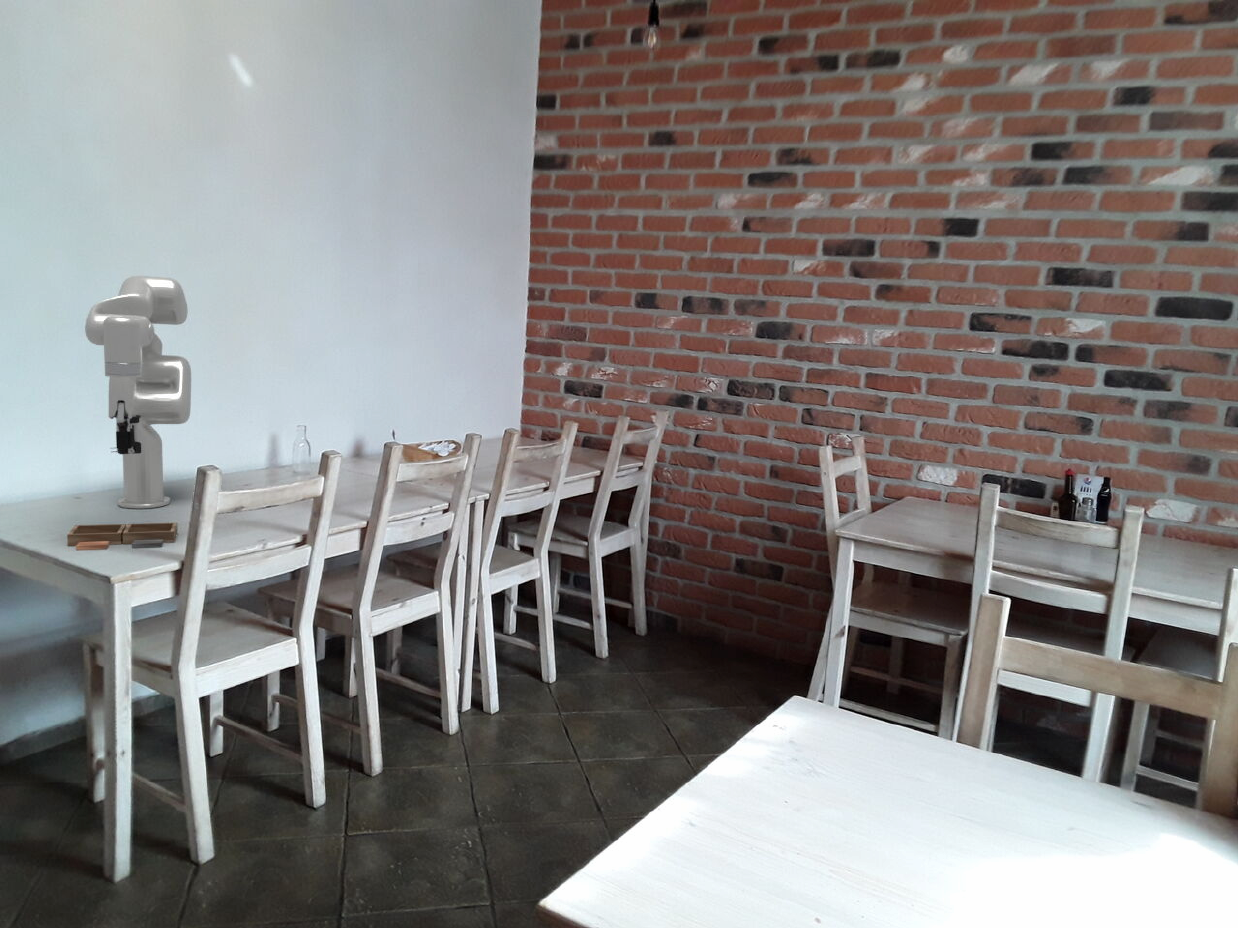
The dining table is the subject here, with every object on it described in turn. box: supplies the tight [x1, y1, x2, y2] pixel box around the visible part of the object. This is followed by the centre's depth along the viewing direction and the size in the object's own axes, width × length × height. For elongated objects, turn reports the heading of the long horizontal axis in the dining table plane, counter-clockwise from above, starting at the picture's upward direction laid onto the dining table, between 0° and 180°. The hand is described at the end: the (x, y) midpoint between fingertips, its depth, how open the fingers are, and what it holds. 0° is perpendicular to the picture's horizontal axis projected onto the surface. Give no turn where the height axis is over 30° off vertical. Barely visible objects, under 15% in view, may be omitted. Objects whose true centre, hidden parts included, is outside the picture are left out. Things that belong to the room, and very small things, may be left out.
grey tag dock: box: [122, 522, 178, 549], centre depth 206 cm, size 12×11×3 cm
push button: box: [110, 412, 141, 455], centre depth 208 cm, size 7×5×10 cm
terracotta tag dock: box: [66, 523, 127, 551], centre depth 202 cm, size 12×11×3 cm
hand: (125, 446), depth 208 cm, fingers closed on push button, 3 cm apart
